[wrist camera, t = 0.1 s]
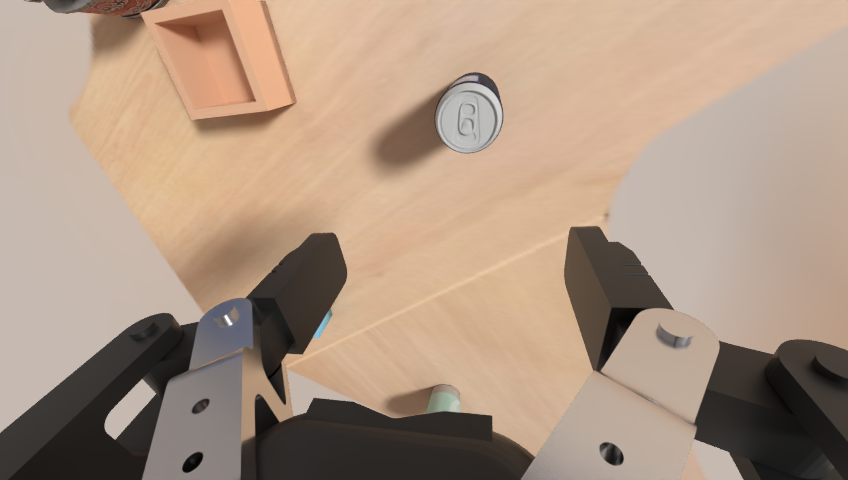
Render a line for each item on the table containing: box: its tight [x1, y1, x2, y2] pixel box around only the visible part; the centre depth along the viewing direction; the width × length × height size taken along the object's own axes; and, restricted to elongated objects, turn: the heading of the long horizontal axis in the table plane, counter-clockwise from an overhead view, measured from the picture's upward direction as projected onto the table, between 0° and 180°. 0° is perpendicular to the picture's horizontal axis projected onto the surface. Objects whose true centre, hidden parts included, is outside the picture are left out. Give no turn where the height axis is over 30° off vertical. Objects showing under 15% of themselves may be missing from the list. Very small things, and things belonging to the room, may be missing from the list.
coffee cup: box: [426, 385, 460, 414], centre depth 60 cm, size 8×8×12 cm
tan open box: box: [141, 0, 297, 120], centre depth 34 cm, size 10×10×6 cm
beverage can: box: [435, 72, 503, 153], centre depth 30 cm, size 6×6×12 cm
